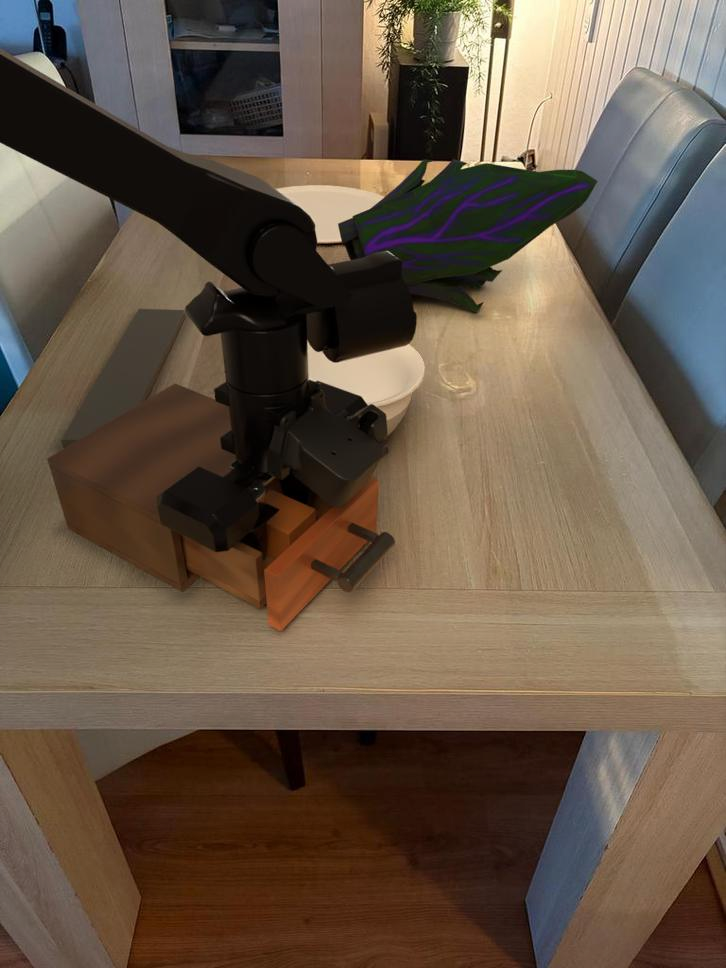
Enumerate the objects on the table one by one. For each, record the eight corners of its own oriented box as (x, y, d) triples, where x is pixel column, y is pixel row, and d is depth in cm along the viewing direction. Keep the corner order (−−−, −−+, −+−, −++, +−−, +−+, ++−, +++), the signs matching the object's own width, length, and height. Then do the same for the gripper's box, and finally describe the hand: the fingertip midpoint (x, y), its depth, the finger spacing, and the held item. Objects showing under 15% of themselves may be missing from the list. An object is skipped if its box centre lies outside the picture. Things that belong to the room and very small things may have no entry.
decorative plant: (366, 337, 114) (554, 278, 114) (380, 352, 89) (620, 277, 89) (326, 199, 109) (522, 137, 108) (328, 175, 84) (584, 94, 83)
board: (123, 449, 74) (121, 441, 74) (63, 447, 74) (61, 439, 74) (185, 316, 98) (184, 309, 97) (140, 315, 98) (138, 308, 97)
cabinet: (293, 497, 69) (290, 429, 64) (182, 592, 59) (168, 520, 55) (184, 448, 75) (174, 382, 70) (67, 528, 65) (46, 458, 60)
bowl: (451, 442, 77) (459, 369, 71) (332, 505, 68) (332, 428, 63) (350, 381, 86) (351, 312, 81) (234, 430, 77) (227, 357, 72)
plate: (417, 244, 120) (418, 237, 119) (235, 251, 116) (235, 243, 115) (386, 189, 143) (386, 182, 142) (232, 193, 139) (232, 186, 138)
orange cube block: (316, 542, 61) (316, 509, 59) (290, 567, 59) (288, 534, 57) (273, 521, 63) (270, 488, 61) (245, 545, 61) (242, 512, 59)
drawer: (415, 549, 62) (420, 496, 59) (323, 655, 54) (322, 600, 50) (263, 481, 69) (259, 429, 66) (158, 565, 60) (147, 510, 57)
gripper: (274, 484, 42) (287, 660, 51) (434, 352, 54) (420, 514, 64) (134, 421, 46) (170, 594, 56) (310, 313, 59) (315, 470, 69)
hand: (279, 540), depth 61 cm, fingers open, 5 cm apart
